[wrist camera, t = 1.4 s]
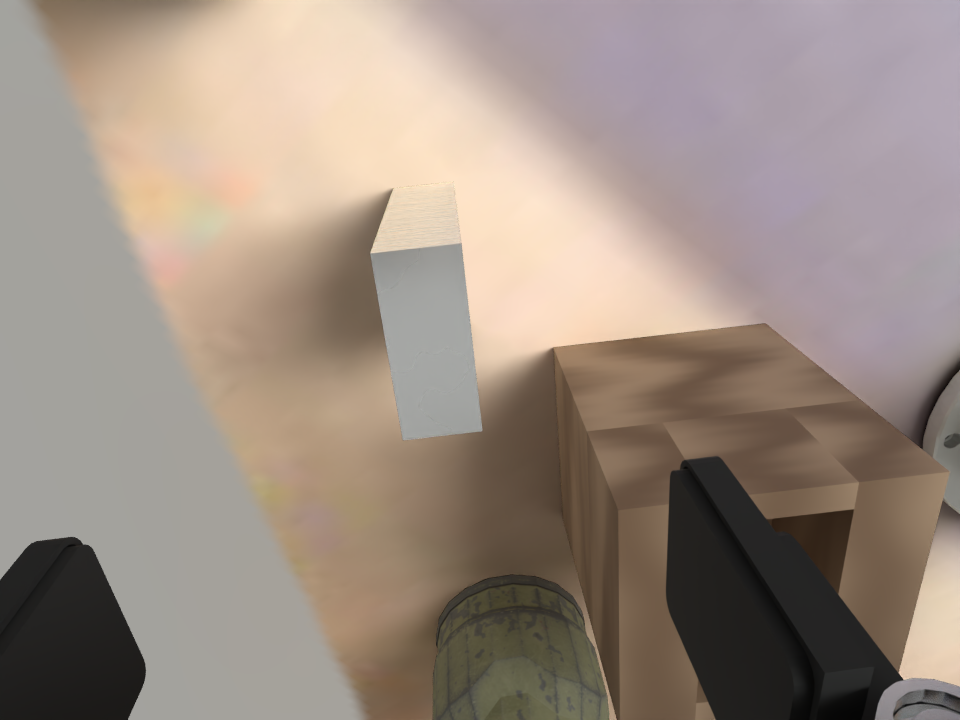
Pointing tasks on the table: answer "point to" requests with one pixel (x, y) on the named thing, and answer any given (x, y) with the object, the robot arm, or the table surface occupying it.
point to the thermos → (516, 655)
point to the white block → (426, 312)
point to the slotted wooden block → (759, 469)
